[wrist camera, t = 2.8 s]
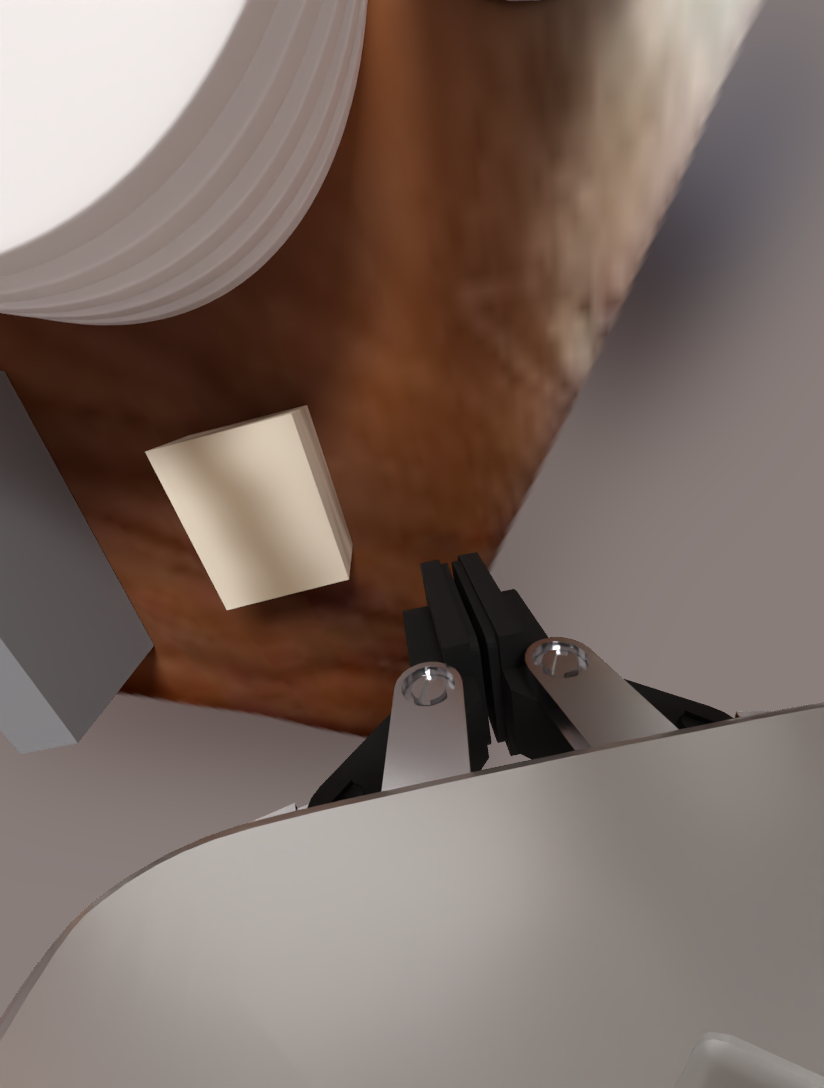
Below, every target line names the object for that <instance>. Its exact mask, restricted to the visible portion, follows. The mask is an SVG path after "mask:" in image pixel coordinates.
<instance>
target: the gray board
mask: <svg viewBox="0 0 824 1088" xmlns="http://www.w3.org/2000/svg"><path fill="white" fill-rule="evenodd" d="M153 646H154V644H153V642H152V641H151V639H150V637H149V635H148V633H147V631H146V630H145V628H144V626H143V624H142V622H141V620H140V619H139V617H138V615H137V613H136V611H135V610H134V608H133V606H132V604H131V602H130V600H129V599H128V597H127V595H126V593H125V591H124V589H123V588H122V586H121V584H120V582H119V580H118V578H117V577H116V575H115V573H114V571H113V569H112V567H111V566H110V564H109V562H108V560H107V558H106V556H105V555H104V553H103V551H102V549H101V547H100V545H99V544H98V542H97V540H96V538H95V536H94V534H93V533H92V531H91V529H90V527H89V525H88V523H87V522H86V520H85V518H84V516H83V514H82V512H81V511H80V509H79V507H78V505H77V503H76V501H75V500H74V498H73V496H72V494H71V492H70V490H69V489H68V487H67V485H66V483H65V481H64V479H63V478H62V476H61V474H60V472H59V470H58V468H57V467H56V465H55V463H54V461H53V459H52V457H51V456H50V454H49V452H48V450H47V448H46V446H45V445H44V443H43V441H42V439H41V437H40V435H39V434H38V432H37V430H36V428H35V426H34V424H33V423H32V421H31V419H30V417H29V415H28V413H27V412H26V410H25V408H24V406H23V404H22V402H21V401H20V399H19V397H18V395H17V393H16V392H15V390H14V388H13V386H12V384H11V382H10V381H9V379H8V377H7V375H6V373H5V371H0V730H1V732H2V733H3V734H4V735H5V736H6V738H7V739H8V740H9V741H10V742H11V743H12V745H13V746H14V747H15V748H16V749H17V751H18V752H19V753H20V754H24V753H29V752H34V751H40V750H44V749H50V748H55V747H60V746H65V745H70V744H75V743H78V742H79V741H80V740H81V738H82V737H83V736H84V734H85V733H86V732H87V731H88V729H89V728H90V727H91V726H92V724H93V723H94V722H95V720H96V719H97V718H98V716H99V715H100V714H101V713H102V712H103V710H104V709H105V708H106V706H107V705H108V704H109V703H110V701H111V700H112V699H113V697H114V696H115V695H116V694H117V692H118V691H119V690H120V689H121V687H122V686H123V685H124V683H125V682H126V681H127V680H128V678H129V677H130V676H131V675H132V673H133V672H134V671H135V669H136V668H137V667H138V666H139V664H140V663H141V662H142V660H143V659H144V658H145V657H146V655H147V654H148V653H149V652H150V650H151V649H152V648H153Z"/></svg>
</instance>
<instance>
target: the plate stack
mask: <svg viewBox="0 0 824 1088" xmlns="http://www.w3.org/2000/svg"><path fill="white" fill-rule="evenodd" d="M367 2H368V0H0V313H4V314H11V315H18V316H25V317H33V318H40V319H46V320H52V321H59V322H66V323H74V324H85V325H128V324H138V323H145V322H151V321H156V320H161V319H165V318H169V317H173V316H176V315H180V314H183V313H186V312H189V311H191V310H194V309H196V308H199V307H201V306H203V305H205V304H207V303H210V302H212V301H214V300H215V299H217V298H219V297H221V296H223V295H224V294H226V293H228V292H229V291H231V290H232V289H234V288H236V287H237V286H238V285H240V284H241V283H243V282H244V281H245V280H247V279H248V278H249V277H250V276H252V275H253V274H254V273H255V272H257V271H258V270H259V269H260V268H261V267H262V266H263V265H264V264H265V263H266V262H267V261H268V260H269V259H270V258H271V257H272V256H273V255H274V254H275V253H276V252H277V251H278V250H279V249H280V248H281V246H282V245H283V244H284V243H285V242H286V241H287V239H288V238H289V237H290V235H291V234H292V233H293V232H294V230H295V229H296V227H297V226H298V225H299V223H300V222H301V220H302V219H303V217H304V216H305V214H306V213H307V211H308V209H309V208H310V206H311V204H312V203H313V201H314V199H315V197H316V195H317V194H318V192H319V190H320V188H321V186H322V184H323V182H324V180H325V178H326V176H327V174H328V171H329V169H330V167H331V164H332V162H333V160H334V157H335V154H336V152H337V149H338V146H339V144H340V141H341V138H342V135H343V132H344V129H345V126H346V122H347V119H348V115H349V112H350V108H351V104H352V100H353V96H354V92H355V88H356V83H357V78H358V73H359V67H360V62H361V55H362V49H363V42H364V33H365V25H366V15H367Z"/></svg>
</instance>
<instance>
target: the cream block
mask: <svg viewBox="0 0 824 1088" xmlns="http://www.w3.org/2000/svg"><path fill="white" fill-rule="evenodd" d="M145 453H146V455H147V457H148V459H149V461H150V463H151V465H152V467H153V468H154V470H155V472H156V474H157V476H158V478H159V480H160V482H161V484H162V486H163V488H164V490H165V492H166V494H167V496H168V497H169V499H170V501H171V503H172V505H173V507H174V509H175V511H176V513H177V515H178V517H179V519H180V521H181V523H182V525H183V526H184V528H185V530H186V532H187V534H188V536H189V538H190V540H191V542H192V544H193V546H194V548H195V550H196V552H197V554H198V555H199V557H200V559H201V561H202V563H203V565H204V567H205V569H206V571H207V573H208V575H209V577H210V579H211V581H212V583H213V584H214V586H215V588H216V590H217V592H218V594H219V596H220V598H221V600H222V602H223V604H224V606H225V608H226V610H230V609H234V608H238V607H242V606H246V605H250V604H254V603H258V602H262V601H266V600H270V599H273V598H277V597H281V596H285V595H289V594H293V593H297V592H301V591H305V590H309V589H313V588H317V587H321V586H325V585H329V584H333V583H337V582H341V581H345V580H349V574H350V565H351V556H352V547H353V543H352V540H351V537H350V534H349V531H348V528H347V525H346V522H345V519H344V516H343V513H342V510H341V507H340V504H339V501H338V498H337V495H336V492H335V489H334V486H333V482H332V479H331V476H330V473H329V470H328V467H327V464H326V461H325V458H324V455H323V452H322V449H321V446H320V443H319V440H318V437H317V434H316V431H315V428H314V425H313V422H312V419H311V416H310V412H309V409H308V406H307V405H304V406H300V407H297V408H293V409H289V410H285V411H281V412H277V413H273V414H270V415H266V416H262V417H258V418H254V419H250V420H246V421H242V422H239V423H235V424H231V425H227V426H223V427H219V428H215V429H211V430H208V431H204V432H200V433H196V434H192V435H188V436H186V437H183V438H180V439H178V440H175V441H172V442H170V443H167V444H164V445H162V446H159V447H156V448H154V449H151V450H148V451H145Z"/></svg>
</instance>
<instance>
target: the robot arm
mask: <svg viewBox="0 0 824 1088" xmlns="http://www.w3.org/2000/svg"><path fill="white" fill-rule="evenodd" d="M507 1H538V0H507ZM420 566H421V572H422V577H423V583H424V588H425V594H426V600H427V605H428V606H426V607H421V608H416V609H411V610H406V611H403V617H404V625H405V632H406V639H407V647H408V654H409V661H410V668H409V669H408V670H406V671H405V672H404V673H402V675H401V676H400V677H399V678H398V680H397V682H396V685H395V688H394V695H393V703H392V711H391V714H390V715H389V716H388V717H387V718H386V719H385V720H384V721H383V722H382V723H381V724H380V725H379V726H378V727H377V728H376V729H375V730H374V731H373V732H372V733H371V734H370V735H369V736H368V737H367V739H366V740H365V741H364V742H363V743H362V744H361V745H360V746H359V747H358V748H357V749H356V750H355V751H354V752H353V753H352V754H351V755H350V756H349V757H348V758H347V759H346V760H345V761H344V763H342V764H341V766H340V767H339V768H338V769H337V770H336V771H335V772H334V773H333V774H332V775H331V776H330V777H329V778H328V779H327V780H326V781H325V782H324V783H323V784H322V785H321V786H320V787H319V789H318V790H317V791H316V793H315V794H314V795H313V797H312V798H311V800H310V803H309V804H307V805H305V806H302V807H300V808H298V809H297V807H296V804H295V803H294V804H291V805H289V806H287V807H285V808H282V809H280V810H277V811H275V812H273V813H271V814H268V815H266V816H264V817H261V818H259V819H257V820H254V821H252V822H250V823H246V824H242V825H239V826H236V827H233V828H230V829H227V830H224V831H221V832H218V833H216V834H213V835H210V836H207V837H204V838H202V839H199V840H197V841H195V842H193V843H191V844H188V845H186V846H184V847H182V848H180V849H177V850H175V851H173V852H171V853H169V854H167V855H165V856H163V857H161V858H160V859H158V860H156V861H154V862H153V863H151V864H149V865H147V866H146V867H144V868H142V869H140V870H139V871H137V872H135V873H133V874H132V875H130V876H128V877H127V878H126V879H124V880H123V881H121V882H120V883H118V884H117V885H115V886H114V887H112V888H111V889H110V890H108V891H107V892H106V893H104V894H103V895H102V896H100V897H99V898H98V899H96V900H95V901H94V902H92V903H91V904H90V905H89V906H88V907H87V908H86V909H85V910H84V911H82V912H81V913H80V915H78V916H77V917H76V918H75V919H74V920H73V921H72V922H71V923H70V924H69V925H68V926H67V927H66V929H65V930H64V931H63V932H62V933H61V934H60V936H59V937H58V938H57V939H56V940H55V941H54V942H53V944H52V945H51V946H50V948H49V949H48V950H47V952H46V953H45V954H44V955H43V957H42V958H41V959H40V960H39V962H38V963H37V964H36V966H35V967H34V969H33V970H32V971H31V973H30V974H29V976H28V977H27V978H26V980H25V981H24V983H23V984H22V985H21V987H20V988H19V990H18V991H17V993H16V994H15V996H14V997H13V999H12V1000H11V1002H10V1003H9V1005H8V1006H7V1008H6V1010H5V1011H4V1012H3V1014H2V1015H1V1017H0V1088H824V702H821V703H815V704H809V705H803V706H798V707H792V708H787V709H782V710H777V711H765V712H764V711H762V712H761V711H759V712H758V711H757V712H756V711H755V712H754V711H753V712H736V715H735V718H732V717H731V716H729V715H728V714H726V713H724V712H722V711H720V710H717V709H715V708H712V707H710V706H707V705H704V704H701V703H698V702H695V701H691V700H688V699H685V698H682V697H679V696H675V695H673V694H669V693H666V692H663V691H660V690H657V689H654V688H650V687H648V686H644V685H641V684H638V683H635V682H632V681H629V680H626V679H623V678H622V677H621V676H619V674H617V673H616V672H615V671H614V670H613V669H612V668H611V667H610V666H609V665H608V664H607V663H605V662H604V661H603V660H602V659H601V658H600V657H599V656H598V655H597V654H595V653H594V652H593V651H592V650H591V649H590V648H589V647H587V646H586V645H584V644H583V643H581V642H578V641H576V640H573V639H568V638H563V637H550V638H548V636H547V635H546V633H545V632H544V631H543V629H542V628H541V626H540V625H539V623H538V622H537V620H536V619H535V617H534V616H533V614H532V613H531V612H530V610H529V609H528V607H527V606H526V604H525V603H524V601H523V600H522V598H521V597H520V595H519V594H518V592H517V591H516V590H514V589H512V590H507V591H502V592H501V591H500V589H499V588H498V586H497V585H496V583H495V581H494V580H493V578H492V576H491V575H490V573H489V571H488V570H487V568H486V566H485V565H484V563H483V561H482V560H481V558H480V557H479V555H478V553H477V552H475V553H470V554H465V555H460V556H458V561H455V562H452V569H453V576H454V580H453V577H452V575H451V573H450V570H449V568H448V565H447V563H444V564H440V562H439V560H434V561H429V562H424V563H420ZM488 717H489V720H490V723H491V725H492V728H493V731H494V734H495V737H496V740H497V742H498V743H499V742H503V741H505V742H506V744H507V747H508V750H509V753H510V755H511V756H512V755H517V754H522V755H524V756H526V757H528V758H530V759H532V760H528V761H523V762H518V763H514V764H509V765H504V766H499V767H495V768H490V769H485V770H481V769H482V767H483V766H484V764H485V763H486V761H487V760H488V758H489V754H488V747H487V745H489V744H491V736H490V728H489V720H488Z"/></svg>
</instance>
